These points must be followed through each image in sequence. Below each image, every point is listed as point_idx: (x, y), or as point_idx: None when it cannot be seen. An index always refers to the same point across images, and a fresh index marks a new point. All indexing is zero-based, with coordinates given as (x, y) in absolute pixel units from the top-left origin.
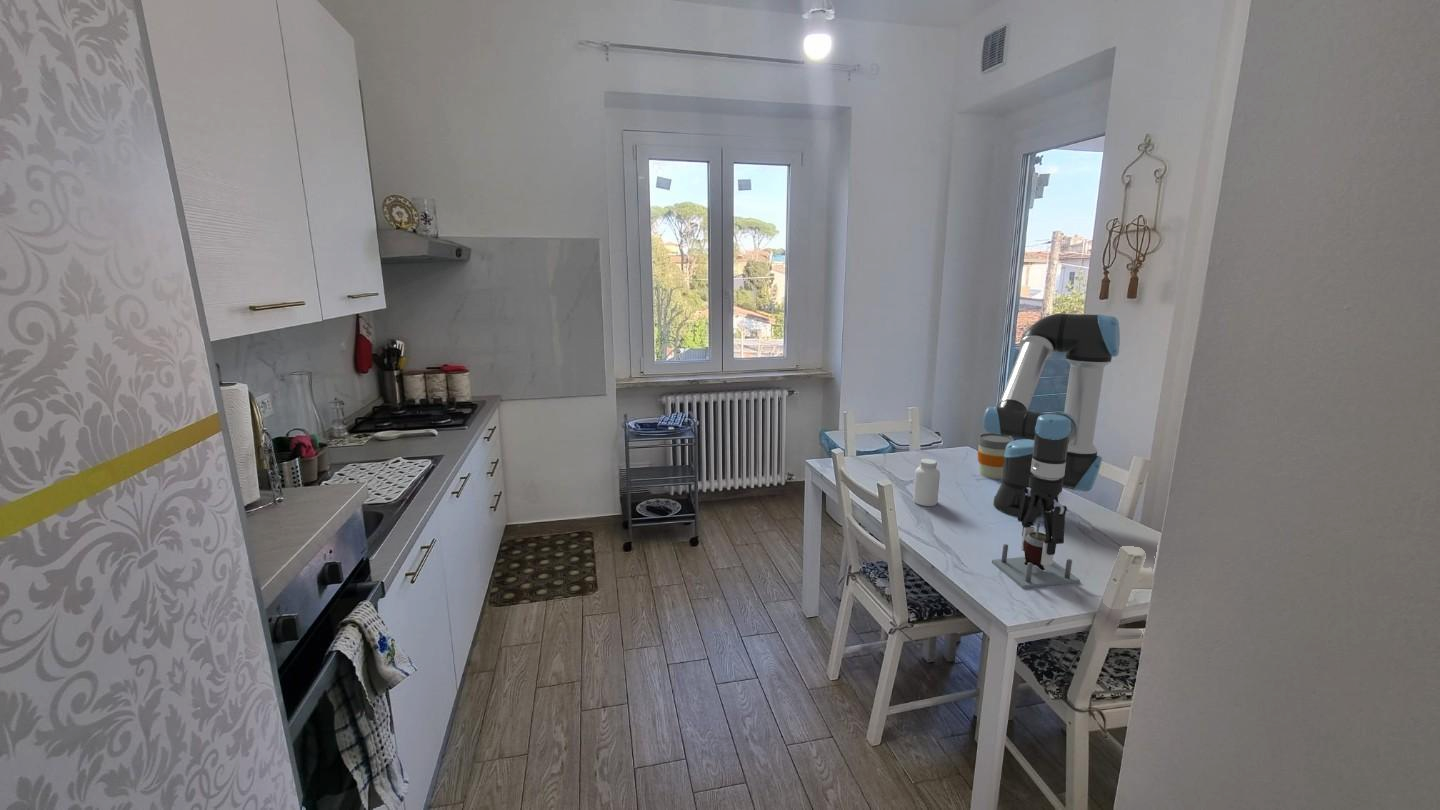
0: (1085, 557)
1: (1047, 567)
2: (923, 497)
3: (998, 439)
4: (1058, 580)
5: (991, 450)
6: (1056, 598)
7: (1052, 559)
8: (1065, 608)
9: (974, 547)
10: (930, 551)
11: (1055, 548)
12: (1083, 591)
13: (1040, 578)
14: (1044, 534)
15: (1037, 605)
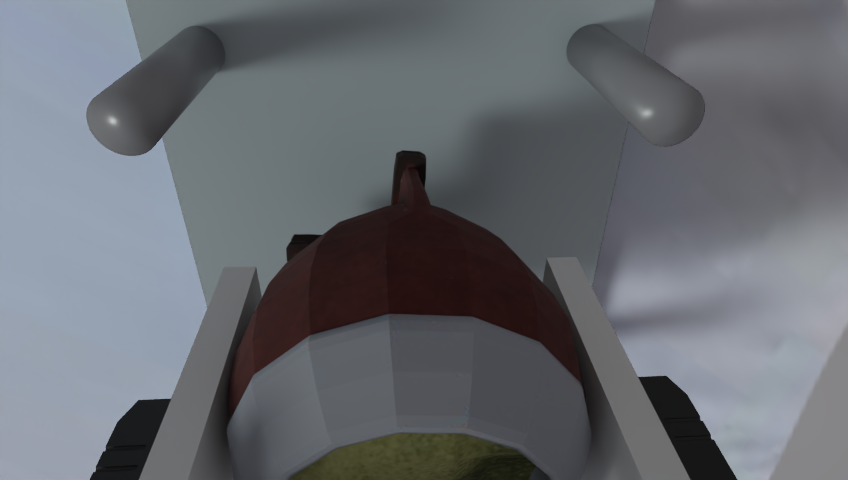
0: None
1: (388, 106)
2: None
3: None
4: (601, 157)
5: None
6: (730, 274)
7: (592, 295)
8: (828, 288)
9: (6, 398)
10: None
11: (719, 453)
12: (770, 22)
13: (533, 265)
14: (349, 438)
15: (726, 394)
